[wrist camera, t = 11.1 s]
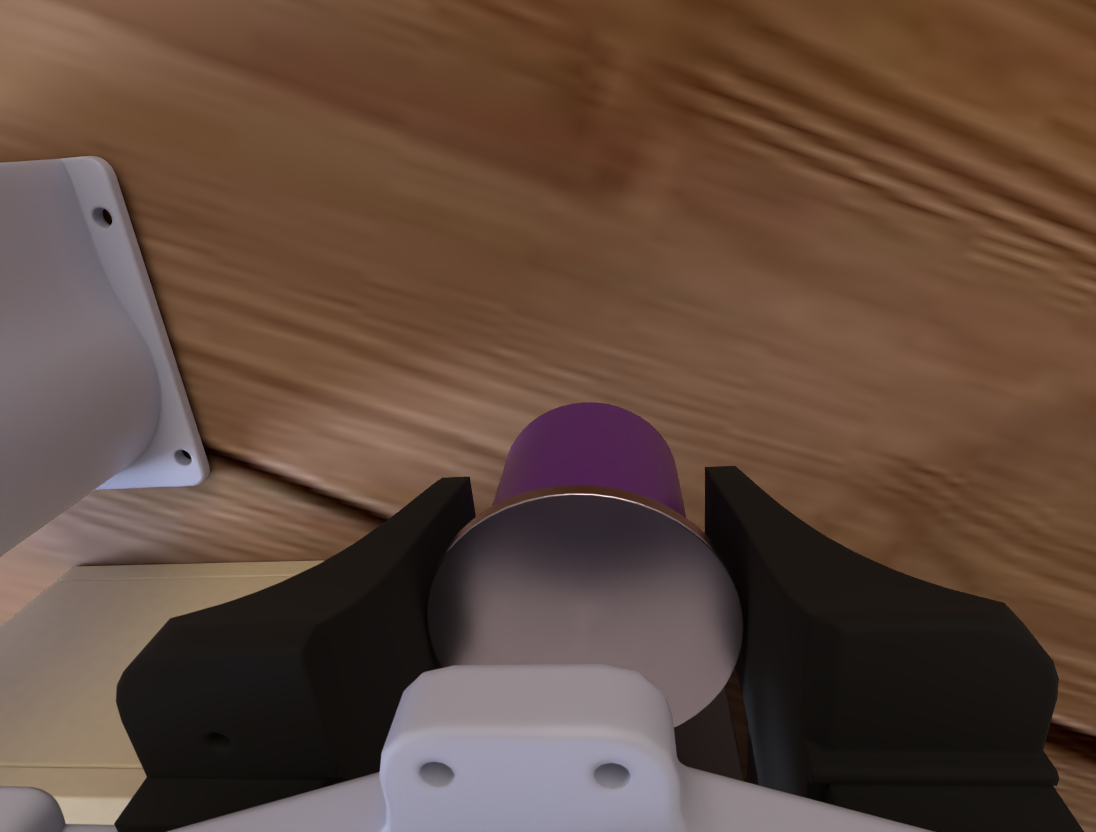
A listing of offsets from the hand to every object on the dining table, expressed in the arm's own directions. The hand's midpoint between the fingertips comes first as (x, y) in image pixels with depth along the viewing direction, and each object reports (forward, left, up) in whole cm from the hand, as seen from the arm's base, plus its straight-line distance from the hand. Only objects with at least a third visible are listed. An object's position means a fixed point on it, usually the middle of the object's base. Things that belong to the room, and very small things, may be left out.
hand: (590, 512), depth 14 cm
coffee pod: (0, 0, -1) cm, 1 cm away
